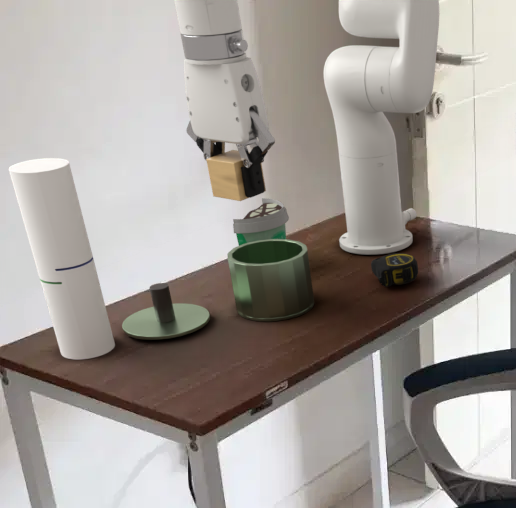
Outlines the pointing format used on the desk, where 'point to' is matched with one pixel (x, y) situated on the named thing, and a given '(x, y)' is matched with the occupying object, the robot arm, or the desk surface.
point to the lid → (165, 317)
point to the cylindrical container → (63, 256)
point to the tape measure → (395, 269)
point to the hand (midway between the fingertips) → (239, 190)
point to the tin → (271, 279)
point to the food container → (262, 223)
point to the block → (227, 175)
